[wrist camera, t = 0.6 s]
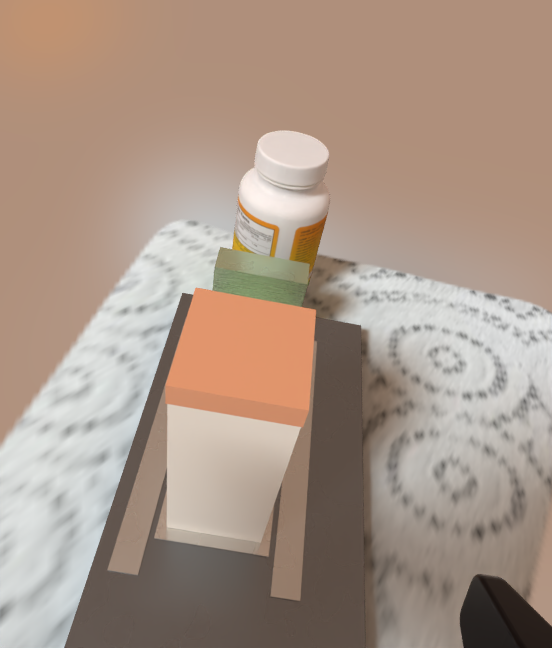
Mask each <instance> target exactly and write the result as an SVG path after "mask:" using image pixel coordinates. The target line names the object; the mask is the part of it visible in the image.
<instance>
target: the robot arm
mask: <svg viewBox="0 0 552 648" xmlns="http://www.w3.org/2000/svg"><path fill="white" fill-rule="evenodd" d="M460 627H461V634H462V640H463V646H464V648H552V626H551V625H550V624H549V623H548V622H547V621H545V620H544V618H542V617H541V616H540V615H539V614H538V613H537V612H536V611H535V610H534V609H533V608H532V607H531V606H530V605H529V604H528V603H527V602H526V601H525V600H524V599H523V598H522V597H521V596H520V595H519V594H518V593H517V592H516V591H515V590H514V589H513V588H512V587H511V586H510V585H509V584H508V583H507V582H506V581H505V580H503V579H502V578H500V577H496V576H489V575H483V574H478V575H476V576H474V578H473V579H472V581H471V584H470V587H469V590H468V592H467V595H466V598H465V600H464V603H463V606H462V609H461V613H460Z"/></svg>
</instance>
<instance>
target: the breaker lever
mask: <svg viewBox="0 0 552 648" xmlns="http://www.w3.org/2000/svg"><path fill="white" fill-rule="evenodd" d="M315 319H316V310H315V309H310V308H304V307H299V306H293V305H288V304H282V303H277V302H271V301H266V300H260V299H255V298H250V297H244V296H239V295H233V294H228V293H222V292H217V291H211V290H206V289H201V288H196V289H195V292H194V295H193V298H192V301H191V305H190V308H189V311H188V314H187V317H186V321H185V324H184V327H183V330H182V334H181V337H180V340H179V343H178V346H177V350H176V353H175V356H174V359H173V363H172V366H171V369H170V372H169V375H168V379H167V382H166V385H165V404H168V405H167V527H168V528H174V529H180V530H186V531H192V532H198V533H205V534H211V535H217V536H223V537H229V538H235V539H241V540H247V541H253V542H259V543H261V540H262V537H263V535H264V532H265V529H266V526H267V523H268V520H269V517H270V515H271V512H272V509H273V506H274V503H275V500H276V497H277V494H278V492H279V489H280V486H281V483H282V480H283V477H284V474H285V472H286V469H287V466H288V463H289V460H290V457H291V454H292V451H293V449H294V446H295V443H296V440H297V437H298V434H299V431H300V429H301V427H303V426H304V423H305V421H306V418H307V415H308V412H309V404H310V390H311V375H312V361H313V347H314V333H315Z"/></svg>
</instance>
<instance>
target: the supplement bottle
mask: <svg viewBox="0 0 552 648" xmlns="http://www.w3.org/2000/svg"><path fill="white" fill-rule="evenodd" d="M328 160H329V151H328V149H327V148H326V146H325V145H324V144H323V143H322V142H320V141H319V140H317V139H315V138H314V137H311V136H309V135H306V134H303V133H299V132H294V131H274V132H270V133H267V134H265V135H264V136H262V137H261V138H260V140H259V142H258V145H257V150H256V156H255V167H254V168H252V169H251V170H249V171H248V172H247V173H246V174H245V175H244V177H243V178H242V180H241V183H240V187H239V193H238V203H237V213H236V222H235V230H234V239H233V247H232V249H233V250H238V251H243V252H249V253H254V254H259V255H265V256H270V257H275V258H281V259H286V260H292V261H297V262H302V263H308V264H310V266H309V277H308V284H309V281H310V277H311V274H312V270H313V266H314V262H315V259H316V255H317V251H318V247H319V244H320V240H321V236H322V232H323V229H324V225H325V221H326V217H327V214H328V209H329V204H330V194H329V191H328V188H327V186H326V185H325V183H324V182H323V179H324V176H325V174H326V170H327V165H328ZM307 287H308V285H307Z"/></svg>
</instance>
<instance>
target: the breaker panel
mask: <svg viewBox="0 0 552 648" xmlns="http://www.w3.org/2000/svg"><path fill="white" fill-rule="evenodd" d="M309 266H310V264H308V263H302V262H297V261H292V260H286V259H281V258H275V257H270V256H265V255H259V254H254V253H249V252H243V251H238V250H233V249H227V248H222V247H220V250H219V254H218V257H217V261H216V264H215V270H214V281H213V291H217V292H222V293H228V294H233V295H239V296H244V297H250V298H255V299H260V300H266V301H271V302H277V303H282V304H288V305H293V306H299V307H302V304H303V300H304V297H305V293H306V289H307V285H308V277H309ZM192 298H193V295H191V294H186V293H182V296H181V299H180V302H179V305H178V308H177V311H176V314H175V317H174V320H173V323H172V326H171V329H170V332H169V335H168V338H167V341H166V344H165V347H164V350H163V353H162V356H161V359H160V362H159V365H158V368H157V371H156V374H155V377H154V380H153V383H152V386H151V389H150V392H149V395H148V398H147V401H146V404H145V407H144V410H143V413H142V416H141V419H140V422H139V425H138V428H137V431H136V434H135V437H134V440H133V443H132V446H131V449H130V452H129V455H128V458H127V461H126V464H125V467H124V470H123V473H122V476H121V479H120V482H119V485H118V488H117V491H116V494H115V497H114V500H113V503H112V506H111V509H110V512H109V515H108V518H107V521H106V524H105V527H104V530H103V533H102V536H101V539H100V542H99V545H98V548H97V551H96V554H95V557H94V560H93V563H92V566H91V569H90V572H89V575H88V578H87V581H86V584H85V587H84V590H83V593H82V596H81V599H80V602H79V605H78V608H77V611H76V614H75V617H74V620H73V623H72V626H71V629H70V632H69V635H68V638H67V641H66V644H65V647H64V648H365V590H364V517H363V444H362V371H361V325H355V324H350V323H344V322H339V321H333V320H328V319H322V318H317V317H316V319H315V333H314V347H313V361H312V375H311V390H310V404H309V412H308V415H307V418H306V421H305V423H304V426H303V427H301V429H300V431H299V434H298V437H297V440H296V443H295V446H294V449H293V451H292V454H291V457H290V460H289V463H288V466H287V469H286V472H285V474H284V477H283V480H282V483H281V486H280V489H279V492H278V494H277V497H276V500H275V503H274V506H273V509H272V512H271V515H270V517H269V520H268V523H267V526H266V529H265V532H264V535H263V537H262V540H261V543H259V542H253V541H247V540H241V539H235V538H229V537H223V536H217V535H211V534H205V533H198V532H192V531H186V530H180V529H174V528H168V527H167V405H168V404H165V385H166V382H167V379H168V375H169V372H170V369H171V366H172V363H173V359H174V356H175V353H176V350H177V346H178V343H179V340H180V337H181V334H182V330H183V327H184V324H185V321H186V317H187V314H188V311H189V308H190V305H191V301H192Z"/></svg>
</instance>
